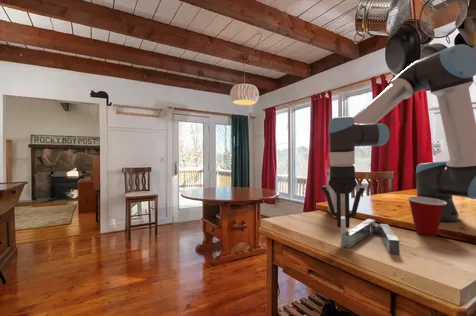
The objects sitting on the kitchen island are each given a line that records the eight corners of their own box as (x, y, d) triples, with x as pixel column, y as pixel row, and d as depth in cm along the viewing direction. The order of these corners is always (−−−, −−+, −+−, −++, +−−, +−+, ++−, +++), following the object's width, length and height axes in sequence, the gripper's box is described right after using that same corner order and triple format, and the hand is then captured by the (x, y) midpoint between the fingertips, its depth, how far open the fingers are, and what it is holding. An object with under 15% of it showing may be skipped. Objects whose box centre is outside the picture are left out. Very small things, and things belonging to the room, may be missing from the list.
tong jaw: (375, 230, 89) (375, 219, 89) (349, 248, 74) (349, 236, 74) (368, 228, 91) (368, 218, 91) (341, 246, 76) (341, 234, 76)
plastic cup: (451, 240, 77) (450, 203, 77) (409, 235, 83) (408, 200, 82) (444, 230, 86) (444, 196, 86) (407, 226, 92) (406, 195, 92)
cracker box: (347, 218, 105) (346, 170, 105) (332, 218, 107) (331, 171, 106) (340, 210, 119) (339, 168, 119) (327, 210, 120) (326, 168, 120)
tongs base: (385, 231, 88) (385, 220, 88) (399, 254, 69) (399, 240, 69) (370, 230, 90) (369, 219, 89) (379, 252, 71) (378, 238, 71)
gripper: (363, 164, 80) (364, 235, 81) (321, 164, 85) (323, 231, 86) (365, 165, 73) (367, 243, 74) (320, 166, 78) (321, 239, 79)
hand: (343, 237), depth 80 cm, fingers closed
